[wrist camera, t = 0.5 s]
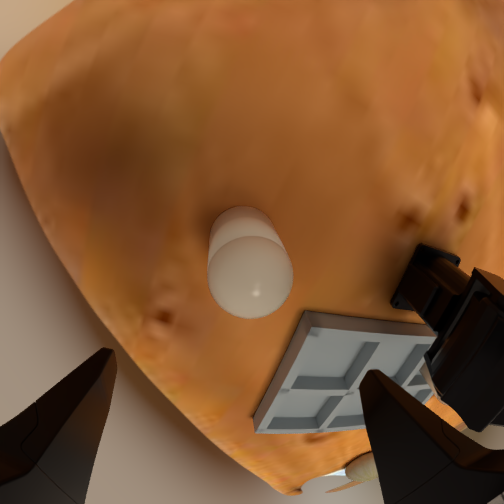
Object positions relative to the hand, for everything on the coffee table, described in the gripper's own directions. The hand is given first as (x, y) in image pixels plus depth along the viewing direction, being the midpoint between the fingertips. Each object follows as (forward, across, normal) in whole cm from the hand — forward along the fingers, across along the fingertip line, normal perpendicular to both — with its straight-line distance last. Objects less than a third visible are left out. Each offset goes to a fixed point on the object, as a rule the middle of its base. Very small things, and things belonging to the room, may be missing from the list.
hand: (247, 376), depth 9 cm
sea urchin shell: (+14, -31, +41) cm, 53 cm away
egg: (+13, 0, 0) cm, 13 cm away
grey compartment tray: (+13, -18, +15) cm, 27 cm away
